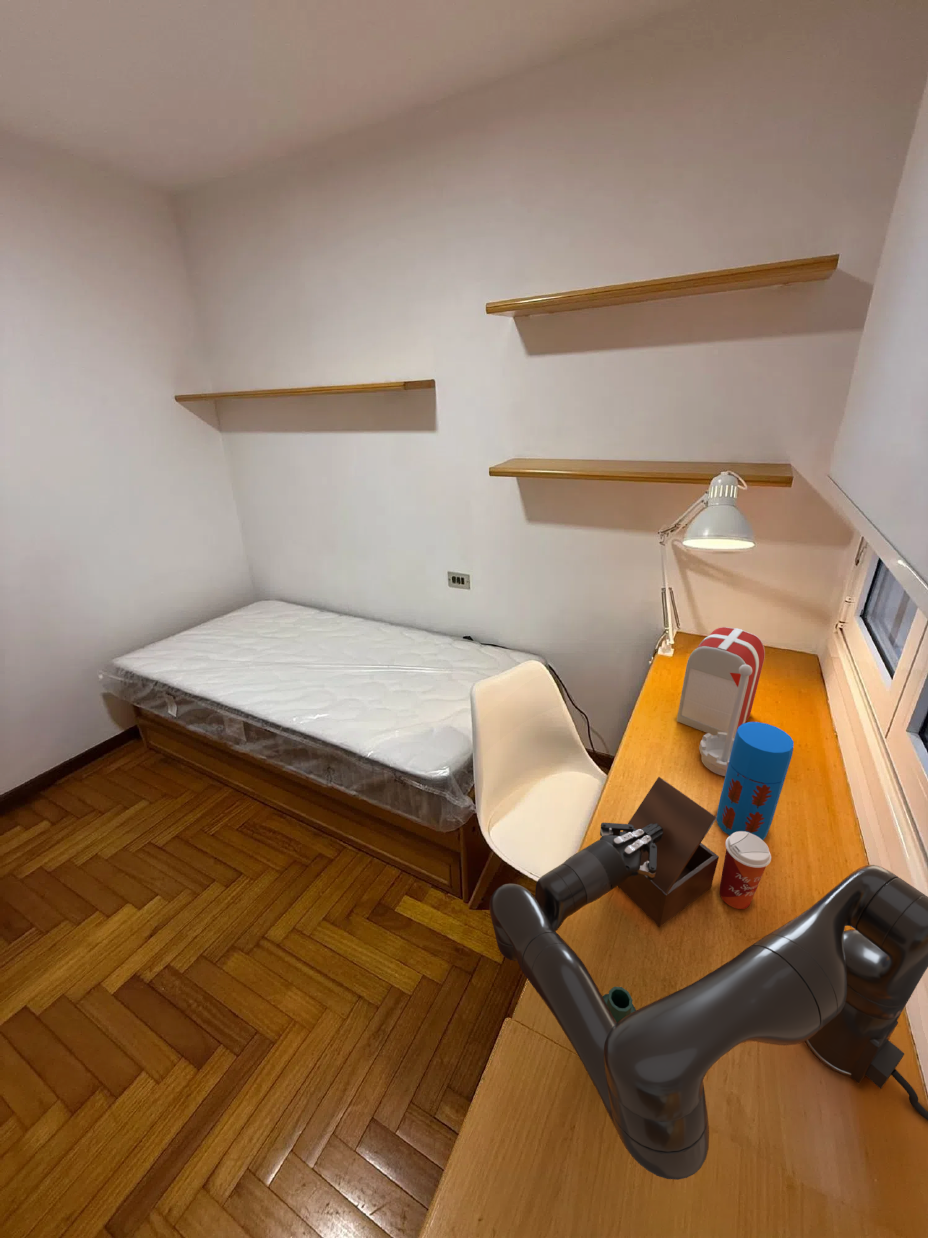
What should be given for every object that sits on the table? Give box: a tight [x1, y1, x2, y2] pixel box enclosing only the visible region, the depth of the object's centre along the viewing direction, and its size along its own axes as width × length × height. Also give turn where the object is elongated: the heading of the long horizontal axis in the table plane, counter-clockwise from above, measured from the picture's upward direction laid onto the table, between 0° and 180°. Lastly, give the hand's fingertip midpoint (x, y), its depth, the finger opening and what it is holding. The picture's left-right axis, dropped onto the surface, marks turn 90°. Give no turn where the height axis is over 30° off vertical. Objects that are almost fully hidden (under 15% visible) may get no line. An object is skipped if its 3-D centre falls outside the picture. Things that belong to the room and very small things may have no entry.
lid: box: [622, 776, 717, 894], centre depth 98 cm, size 16×13×1 cm
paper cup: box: [718, 831, 772, 910], centre depth 100 cm, size 8×8×14 cm
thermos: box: [715, 721, 795, 841], centre depth 114 cm, size 11×11×25 cm
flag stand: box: [698, 665, 752, 777], centre depth 132 cm, size 13×13×30 cm
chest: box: [617, 842, 720, 928], centre depth 104 cm, size 16×13×9 cm
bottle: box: [602, 986, 637, 1022], centre depth 75 cm, size 6×6×15 cm
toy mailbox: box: [676, 626, 766, 739], centre depth 151 cm, size 16×18×27 cm
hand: (659, 829), depth 97 cm, fingers closed
